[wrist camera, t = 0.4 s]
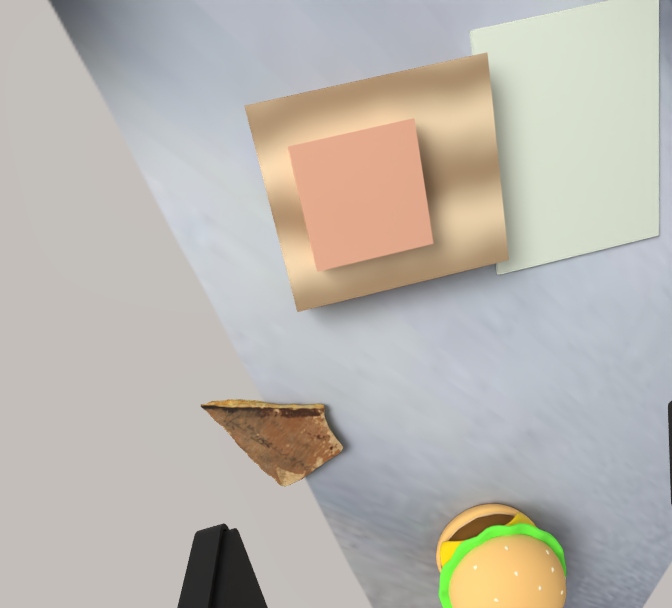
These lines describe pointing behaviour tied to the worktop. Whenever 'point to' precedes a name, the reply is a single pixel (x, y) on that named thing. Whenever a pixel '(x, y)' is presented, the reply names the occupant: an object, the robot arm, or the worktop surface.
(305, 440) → the shard
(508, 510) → the hamburger
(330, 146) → the terracotta coaster
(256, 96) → the worktop surface
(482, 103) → the oak board
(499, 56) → the sage mat
